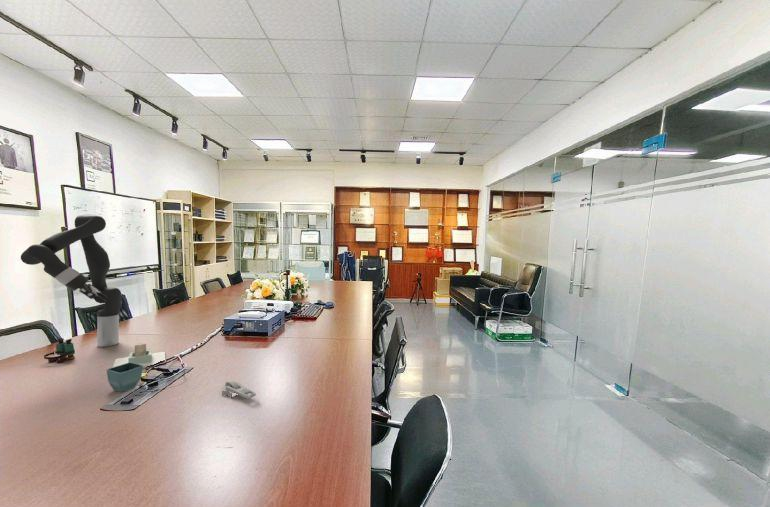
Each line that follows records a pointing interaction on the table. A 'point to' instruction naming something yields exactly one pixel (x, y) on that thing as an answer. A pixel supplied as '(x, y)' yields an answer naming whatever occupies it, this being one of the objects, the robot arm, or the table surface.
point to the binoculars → (62, 351)
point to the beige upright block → (140, 349)
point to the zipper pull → (236, 390)
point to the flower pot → (124, 376)
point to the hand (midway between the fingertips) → (104, 300)
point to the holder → (142, 359)
